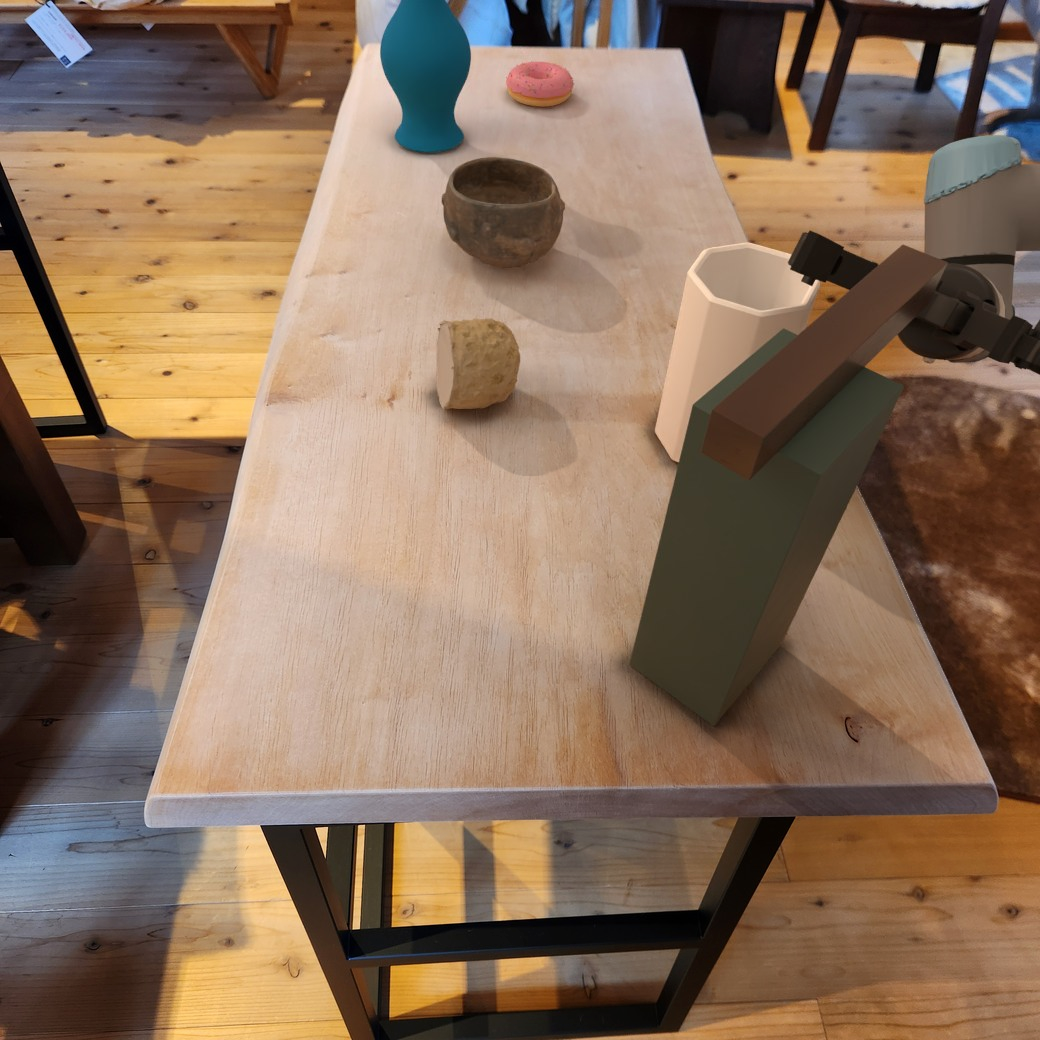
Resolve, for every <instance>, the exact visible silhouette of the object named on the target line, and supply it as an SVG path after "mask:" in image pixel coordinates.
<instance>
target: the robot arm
mask: <svg viewBox="0 0 1040 1040" xmlns="http://www.w3.org/2000/svg"><path fill="white" fill-rule="evenodd" d="M1023 159H1024V157H1023V156H1022V146H1021V142H1020V140H1018V139H1017V138H1015V137H1013V136H1007V135H1004V134H991V135H990V134H989V135H979V136H973V137H967V138H963V139H959V140H956V141H953V142H950V143H947V144H946V145H944V146H942V147H939V148H938V149H937V150H936V151H935V152H934V153H932V155H931V157H930V159H929V162H928V168H927V174H926V179H925V180H926V181H925V188H924V198H923V205H924V245H923V247H924V251H923V253H926V254H928V255H931V256H933V257H936V258H938V259H941V260H943V261H946V262H948V263H947V266H946V268H945V270H944V272H943V274H942V276H941V279H940V281H939V283H938V285H937V287H936V289H935V292H934V294H933V296H932V298H931V300H930V302H929V304H928V305H927V306H926V307H925V308H924V309H923V310H922V311H921V312H920V313H919V314H918V315H917V316H916V317H915V318H914V319H913V320H912V321H911V322H910V323H909V324H908V325H907V326H906V327H905V328H904V329H902V330H901V331H900V332H899V333H898V334H897V335H896V336H897V337H898V339H899V340H900V342H901V343H902V345H904V346H905V348H907V349H908V350H909V351H910V352H912V353H914V354H916V355H918V356H920V357H922V360H923V362H924V363H926V364H934V363H935V361H936V360H938V361H939V360H940V361H948V362H949V363H952V364H963V363H977V362H980V361H983V360H985V359H988V358H989V359H991V360H993V361H995V362H998V363H1000V364H1008V365H1009V364H1010V363H1012V364H1013V365H1014V367H1015V368H1017V369H1019V370H1029V371H1031V372H1033V373H1035V374H1037V375H1039V376H1040V319H1039V320H1038V321H1037V323H1036V324H1035V326H1034V325H1033V324H1031V322H1029V321H1027V320H1026V319H1025V318H1022V317H1020V316H1017V315H1016V307H1015V305H1013V291H1014V277H1015V276H1014V275H1015V264H1016V263H1015V262H1016V254H1017V252H1040V163H1024V164H1023ZM844 248H845V246H843V245H841V244H840V243H837V242H835V241H834V240H831V239H830V238H827V237H826V236H824V235H822V234H820V233H818V232H816V231H813V230H808V232H807V231H803V232H802V233H801V235H800V237H799V239H798V241H797V242H796V245H795V247H794V248H793V251H792V253H791V254H792V255H791V257H790V259H789V261H788V265H790V266H791V268H790V270H792V271H795V272H797V273H799V274H802V275H804V276H803V278H802V280H801V282H803V283H806V284H808V285H810V286H813V284H814V282H815V280H818V281H819V282H822V283H824V284H826V283H827V282H829V283H831V284H834V285H836V286H839V287H841V288H843V289H846V290H848V291H849V290H851V289H852V288H853V287H854V286H855V285H856V284H858V283H859V282H860V281H861V280H862V279H863V278H864V277H866V276H867V275H868V274H869V273H870V272H871V271H873V270H874V269H875V268H876V267H877V266H878V265H879V263H878V262H875V261H874V260H873V261H871V260H868V259H867V258H864V257H862V256H859V255H857V254H855V253H852V252H851V251H848V250H847V249H844Z"/></svg>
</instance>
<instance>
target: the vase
mask: <svg viewBox="0 0 1040 1040" xmlns="http://www.w3.org/2000/svg"><path fill="white" fill-rule="evenodd" d="M379 52H380V53H379V56H380V62H381V63H380V64H381V67H382V70H383V74H384V76H385V78H386V80H387V82H388V84H389V86H390V87H391V89H392V91H393V93H394V94H395V97H396V98H397V100H398V103H399V105H400V108H401V123H400V124H399V126H398V127H397V129H396V131H395V132H394V139H395V141H396V142H397V143H398V144H399V145H400V146H402V147H403V148H404V149H407V150H410V151H412V152H417V153H427V154H429V153H433V154H434V153H442V152H446V151H450V150H453V149H455V148H456V147H458V146H459V145H461V143H462V142H463V140H464V139H465V134H464V132H463V130H462V129H461V127H460V125H458V124H457V121H456V117H455V109H456V104H457V102H458V98H459V96H460V94H461V93H462V90H463V88H464V86H465V84H466V82H467V80H468V77H469V73H470V69H471V61H472V50H471V45H470V41H469V38H468V35H467V33H466V30H465V29H464V27H463V25H462V24H461V22H460V21H459V19H458V18H457V16H456V15H455V14H454V12H453V10H452V9H451V8H450V5H449V4H448V2H447V1H446V0H400V2H399V4H398V6H397V8H396V10H395V12H394V13H393V15H392V16H391V18H390V20H389V21H388V23H387V25H386V27H385V29H384V31H383V33H382V37H381V41H380V48H379Z"/></svg>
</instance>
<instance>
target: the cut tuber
mask: <svg viewBox="0 0 1040 1040" xmlns="http://www.w3.org/2000/svg"><path fill="white" fill-rule="evenodd" d="M437 331H438V336H437V342H436V377H437V379H436V380H437V381H436V383H437V384H436V397H437V398H438V402H439V404H440V406H441V408H442V410H449V409H456V410H457V409H459V410H460V409H461V410H463V409H465V410H466V409H467V410H470V409H472V410H475V409H481V410H482V409H485V408H488V407H490V406H491V405H495V404H496V403H498V404H499V403H502V402H504V401H506V400H507V399H508V397H509V396H510V394H511V393H512V392H513V391H514V389H515V386H516V384H517V382H518V373H519V370H520V364H521V352H520V346H519V345H518V342H517V339H516V336H515V335H514V333H513V331H512V330H511V328H509V326H507V324H506V323H505V322H502V321H499V320H495V319H494V318H492V317H488V318H477V317H475V318H473V319H469V320H468V319H462V320H452V321H447V320H442V321H441V322H439V327H438V328H437Z"/></svg>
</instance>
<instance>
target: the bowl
mask: <svg viewBox="0 0 1040 1040" xmlns="http://www.w3.org/2000/svg"><path fill="white" fill-rule="evenodd" d="M441 204H442V206H443V207H442V210H443V211H442V213H443V215H442V216H443V221H444V224H445V228H446V231H447V233H448V236H449V238H450V240H451V241H452V242H454V243H455V244H456V245H457V246H458V247H459V248H460V249H461V250H462V251H464V253H466V254H467V255H469V256H471V257H473V258H474V259H476V260H478V261H480V262H481V263H484V264H485V265H488V266H490V267H492V268H497V269H498V268H499V269H503V270H507V269H509V270H510V269H517V268H521V267H524V266H526V265H529V264H532V263H535V262H536V261H538V260H540V259H542V258H543V257H544V256H545V255H547V254H548V252H549V251H550V250H551V249H552V248H553V247H554V245H555V244H556V242H557V240H558V238H559V235H560V233H561V229H562V226H563V221H564V212H565V211H566V204H565V202H564V201H563V199H562V198H561V194H560V192H559V188H558V185H557V184H556V181H555V180H554V178H553V177H552V175H551V174H550V173H549V172H547V171H546V170H545V169H544V168H542V167H540V166H538V165H536V164H534V163H530V162H527V161H524V160H519V159H515V158H510V157H509V158H507V157H498V156H488V157H487V156H486V157H479V158H475V159H471V160H468V161H466V162H464V163H462V164H460V165H457V167H456V168H455V169H453V171H452V172H451V174H450V175H449V178H448V181H447V183H446V187H445V192H444V193H442V194H441Z"/></svg>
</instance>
